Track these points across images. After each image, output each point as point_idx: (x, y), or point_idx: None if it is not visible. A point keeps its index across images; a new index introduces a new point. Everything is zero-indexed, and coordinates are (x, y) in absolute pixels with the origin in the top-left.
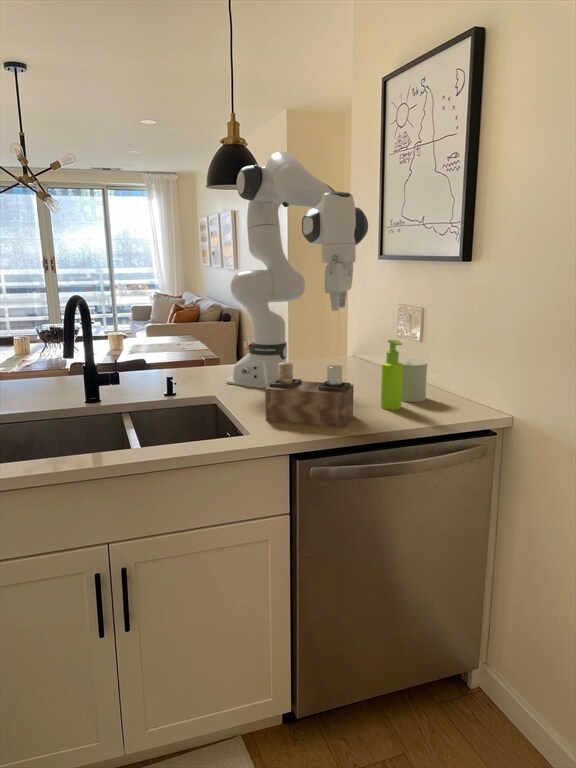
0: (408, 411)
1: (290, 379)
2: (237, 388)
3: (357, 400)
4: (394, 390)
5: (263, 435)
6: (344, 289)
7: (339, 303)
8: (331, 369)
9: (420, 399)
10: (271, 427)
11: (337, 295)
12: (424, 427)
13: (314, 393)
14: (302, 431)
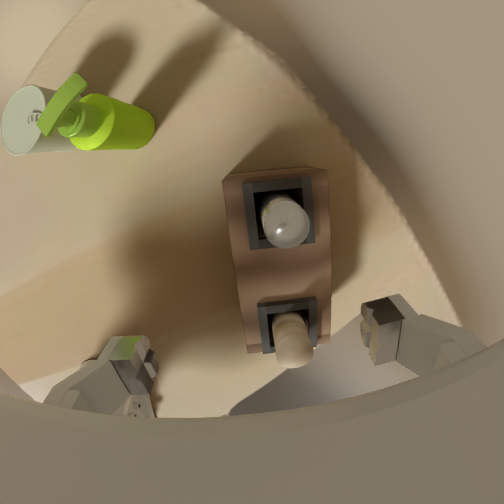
0: (151, 87)
1: (297, 319)
2: (168, 409)
3: (119, 209)
4: (137, 110)
5: (386, 275)
6: (301, 419)
7: (150, 377)
8: (308, 226)
9: (79, 96)
10: (349, 283)
11: (480, 342)
12: (245, 34)
13: (330, 241)
14: (354, 228)
